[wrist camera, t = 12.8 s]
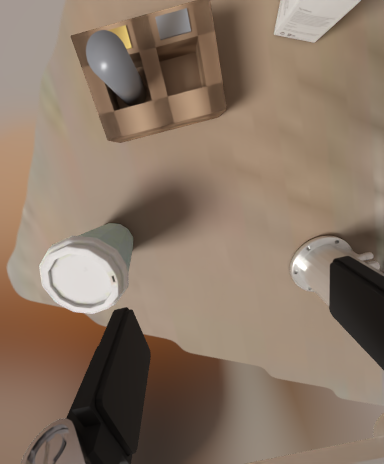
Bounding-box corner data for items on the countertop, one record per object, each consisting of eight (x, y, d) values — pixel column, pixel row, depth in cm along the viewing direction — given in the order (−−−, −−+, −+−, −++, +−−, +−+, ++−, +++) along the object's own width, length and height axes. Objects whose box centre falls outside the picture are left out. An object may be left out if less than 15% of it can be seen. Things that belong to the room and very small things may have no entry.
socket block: (203, 25, 28) (209, -9, 22) (218, 117, 32) (227, 108, 26) (91, 56, 28) (68, 31, 23) (120, 142, 32) (107, 140, 27)
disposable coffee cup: (96, 266, 40) (51, 327, 26) (77, 214, 36) (11, 252, 22) (150, 258, 40) (134, 313, 26) (136, 204, 36) (109, 236, 22)
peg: (141, 73, 28) (119, 24, 17) (149, 103, 29) (133, 74, 19) (116, 80, 28) (79, 36, 18) (125, 109, 29) (95, 84, 19)
